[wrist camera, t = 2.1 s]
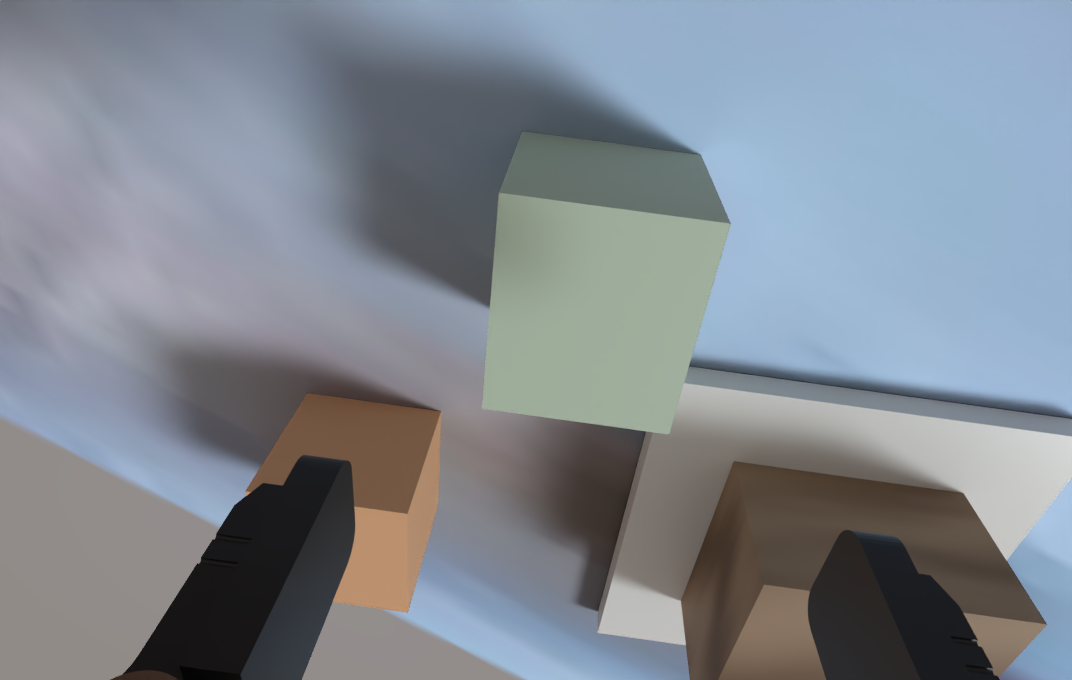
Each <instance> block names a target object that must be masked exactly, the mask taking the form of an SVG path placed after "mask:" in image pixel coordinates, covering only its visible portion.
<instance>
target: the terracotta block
mask: <svg viewBox="0 0 1072 680" xmlns="http://www.w3.org/2000/svg"><path fill="white" fill-rule="evenodd" d="M440 430H441V411H434V410H426V409H419V408H412V407H405V406H397V405H390V404H383V403H376V402H369V401H361V400H354V399H347V398H340V397H332V396H325V395H318V394H311V393H307V394H306V395H305V397H304V399H303V400H302V402H301V403H300V405H299V407H298V408H297V410H296V411H295V413H294V415H293V416H292V418H291V419H290V421H289V423H288V424H287V426H286V427H285V429H284V431H283V432H282V434H281V435H280V437H279V439H278V440H277V442H276V443H275V445H274V447H273V448H272V450H271V451H270V453H269V454H268V456H267V458H266V459H265V461H264V462H263V464H262V466H261V467H260V469H259V470H258V472H257V474H256V475H255V477H254V478H253V480H252V482H251V483H250V485H249V486H248V488H247V490H246V491H245V492H246V496H247V495H248V494H250V493H251V492H252V491H253V490H255V489H256V488H257V487H258V486H260V485H261V484H262V483H268V484H275V485H282V486H283V484H284V482H285V481H286V479H287V477H288V475H289V474H290V472H291V470H292V468H293V467H294V465H295V463H296V462H297V460H298V459H299V458H300V457H301V456H302V455H310V456H317V457H324V458H332V459H339V460H347V461H349V462H350V463H351V466H352V477H353V493H354V509H355V536H354V543H353V547H352V552H351V555H350V559H349V562H348V564H347V567H346V569H345V572H344V574H343V577H342V579H341V582H340V584H339V587H338V589H337V592H336V594H335V597H334V599H333V602H337V603H344V604H351V605H358V606H365V607H372V608H379V609H386V610H393V611H400V612H407V613H408V611H409V607H410V603H411V600H412V596H413V593H414V589H415V586H416V582H417V578H418V575H419V571H420V568H421V564H422V561H423V557H424V553H425V550H426V546H427V543H428V539H429V536H430V532H431V528H432V525H433V521H434V518H435V514H436V511H437V507H438V490H439V460H440Z"/></svg>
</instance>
